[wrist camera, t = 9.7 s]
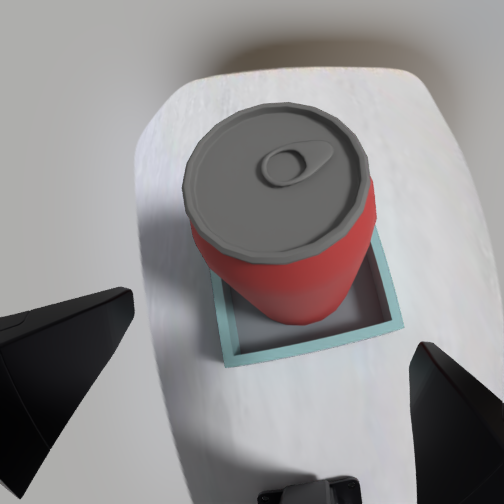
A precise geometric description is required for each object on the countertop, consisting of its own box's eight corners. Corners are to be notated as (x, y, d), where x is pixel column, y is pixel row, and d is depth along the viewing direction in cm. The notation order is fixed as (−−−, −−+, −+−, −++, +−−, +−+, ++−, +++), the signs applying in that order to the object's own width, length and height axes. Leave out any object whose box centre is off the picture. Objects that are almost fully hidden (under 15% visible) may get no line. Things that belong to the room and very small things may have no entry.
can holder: (393, 331, 18) (404, 327, 16) (236, 366, 20) (224, 367, 17) (352, 189, 22) (355, 169, 19) (213, 222, 23) (201, 206, 21)
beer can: (368, 297, 19) (432, 215, 8) (271, 344, 19) (206, 325, 8) (321, 210, 21) (316, 68, 10) (231, 252, 21) (146, 143, 10)
